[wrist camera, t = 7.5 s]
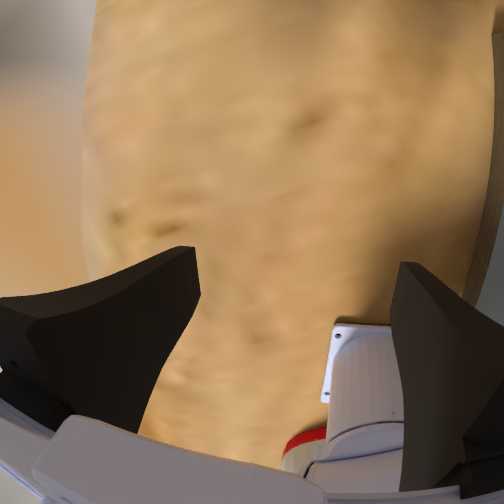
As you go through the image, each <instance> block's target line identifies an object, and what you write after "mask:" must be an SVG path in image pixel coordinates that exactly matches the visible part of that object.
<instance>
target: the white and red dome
mask: <svg viewBox="0 0 504 504" xmlns="http://www.w3.org/2000/svg"><path fill="white" fill-rule="evenodd" d="M326 432H327V427H323V428H319V429H314V430H310V431H307V432H304V433H302V434H300V435H297V436H295V437H294V438H293V439H292V440H290V441H289V442H288V443H287V445H286V447H285V449H284V453H283V457H282V464H281V470H282V471H287V472H292V473H295V472H296V471H297V469H298V468H299V467H300V465H301V464H302V463H303V462H305V461H308V460H314V457H315V450H316V446H318V445H323V444H325V441H326Z"/></svg>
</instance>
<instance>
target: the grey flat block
mask: <svg viewBox="0 0 504 504" xmlns="http://www.w3.org/2000/svg"><path fill="white" fill-rule="evenodd" d="M492 44H493V56H494V76H495V114H494V135H493V148H492V158H491V167H490V175H489V183H488V189H487V196H486V202H485V207H484V213H483V218H482V223H481V228H480V232H479V237H478V241H477V245H476V249H475V253H474V257H473V261H472V265H471V269H470V272H469V276H468V279H467V282H466V286H465V289H464V292H463V295H462V299H464V300H465V301H466V302H468V303H469V304H470V305H471V306H473V307H474V308H476V309H477V310H478V311H480V312H481V313H483V314H484V315H486V316H488V317H489V318H491V319H492V320H494V321H495V322H497V323H499V324H500V325H502V326H504V31H501V32H498V33H495V34H492Z"/></svg>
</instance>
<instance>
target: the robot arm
mask: <svg viewBox="0 0 504 504" xmlns="http://www.w3.org/2000/svg"><path fill="white" fill-rule="evenodd" d="M200 296H201V292H200V284H199V276H198V269H197V261H196V252H195V247H189V246H177V247H174V248H171V249H169V250H166V251H164V252H162V253H159V254H157V255H155V256H153V257H151V258H148V259H146V260H144V261H142V262H140V263H138V264H135V265H133V266H131V267H128V268H126V269H124V270H121V271H119V272H117V273H114V274H112V275H109V276H107V277H104V278H101V279H99V280H96V281H93V282H90V283H86V284H83V285H79V286H75V287H71V288H68V289H64V290H60V291H54V292H49V293H43V294H36V295H29V296H17V297H2V298H0V366H1V368H2V370H3V371H2V372H1V373H0V468H1V469H2V470H3V471H5V472H6V473H7V474H8V475H9V476H11V477H12V478H13V479H14V480H16V481H17V482H18V483H20V484H21V485H22V486H23V487H25V488H26V489H27V490H29V491H30V492H32V493H33V494H34V495H36V496H37V497H38V498H40V499H41V500H43V502H42V504H504V326H502V325H500V324H499V323H497V322H495V321H494V320H492V319H491V318H489V317H488V316H486V315H484V314H483V313H481V312H480V311H478V310H477V309H476V308H474V307H473V306H471V305H470V304H469V303H468V302H466V301H465V300H464V299H462V298H461V297H460V296H458V295H457V294H456V293H455V292H453V291H452V290H451V289H450V288H449V287H447V286H446V285H445V284H444V283H443V282H441V281H440V280H439V279H438V278H437V277H435V276H434V275H433V274H432V273H431V272H429V271H428V270H427V269H426V268H424V267H423V266H422V265H420V264H418V263H414V262H401V263H400V268H399V272H398V277H397V282H396V287H395V291H394V295H393V300H392V304H391V308H390V321H391V326H374V325H358V324H344V323H337V324H335V325H334V326H333V329H332V336H331V342H330V348H329V354H328V360H327V366H326V371H325V377H324V382H323V387H322V393H321V398H320V400H321V402H323V403H329V411H328V422H327V432H326V441H325V444H323V445H318V446H316V450H315V457H314V460H308V461H305V462H303V463H302V464H301V465H300V467H299V468H298V469H297V471H296V472H295V473H292V472H287V471H282V470H278V469H274V468H270V467H266V466H262V465H258V464H253V463H247V462H241V461H236V460H231V459H226V458H221V457H216V456H212V455H208V454H203V453H199V452H195V451H191V450H187V449H184V448H180V447H176V446H173V445H169V444H166V443H163V442H159V441H156V440H153V439H150V438H147V437H144V436H141V435H138V434H137V433H138V430H139V427H140V424H141V421H142V418H143V415H144V412H145V409H146V406H147V404H148V401H149V398H150V396H151V393H152V391H153V388H154V386H155V383H156V381H157V379H158V376H159V374H160V372H161V369H162V368H163V366H164V364H165V362H166V360H167V358H168V357H169V355H170V353H171V351H172V350H173V348H174V346H175V345H176V343H177V341H178V340H179V338H180V336H181V335H182V333H183V331H184V330H185V328H186V326H187V325H188V323H189V321H190V319H191V318H192V316H193V313H194V311H195V309H196V306H197V304H198V301H199V298H200ZM336 334H341V335H336Z"/></svg>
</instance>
